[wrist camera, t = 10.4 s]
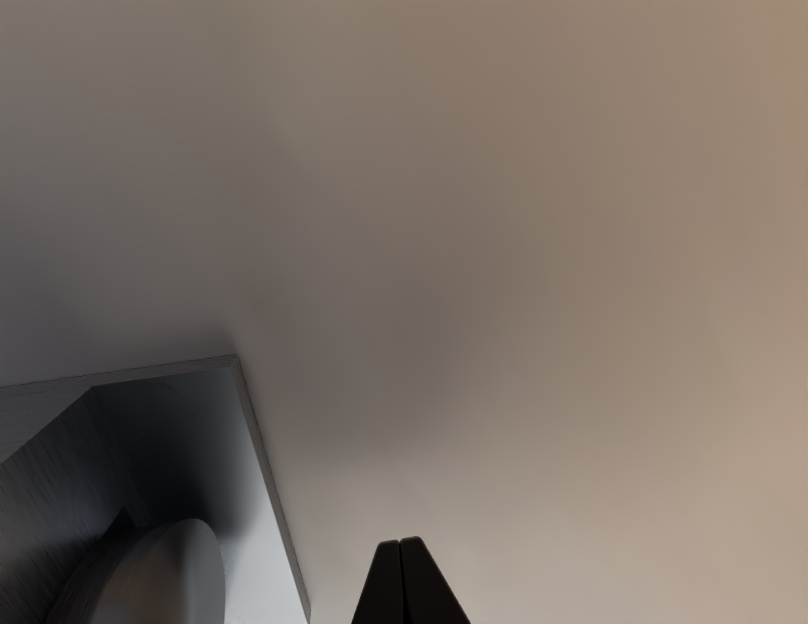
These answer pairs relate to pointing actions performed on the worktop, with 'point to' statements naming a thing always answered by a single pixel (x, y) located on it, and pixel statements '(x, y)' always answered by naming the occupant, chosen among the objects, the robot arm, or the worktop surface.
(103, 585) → the pin
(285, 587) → the bracket
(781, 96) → the worktop surface
